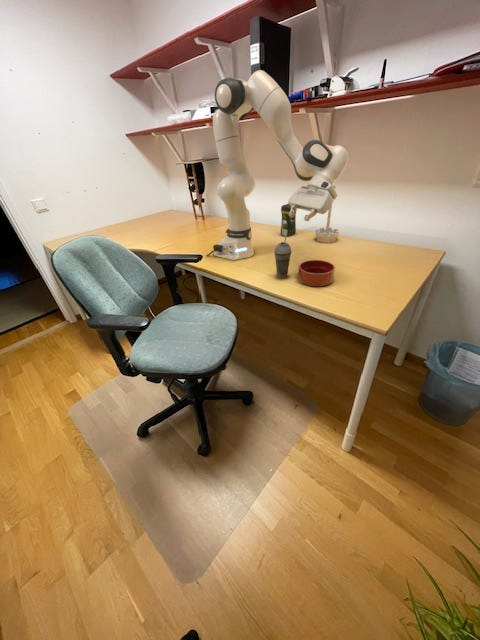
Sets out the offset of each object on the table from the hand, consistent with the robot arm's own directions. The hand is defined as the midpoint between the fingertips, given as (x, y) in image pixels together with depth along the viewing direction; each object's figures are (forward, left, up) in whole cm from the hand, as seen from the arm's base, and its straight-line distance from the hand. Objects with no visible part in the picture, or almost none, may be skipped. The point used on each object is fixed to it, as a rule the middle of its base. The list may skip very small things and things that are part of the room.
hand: (297, 218), depth 104 cm
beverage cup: (-4, -6, -24) cm, 25 cm away
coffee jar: (-19, +55, -24) cm, 63 cm away
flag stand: (+6, +50, -24) cm, 56 cm away
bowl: (+10, -4, -24) cm, 27 cm away
